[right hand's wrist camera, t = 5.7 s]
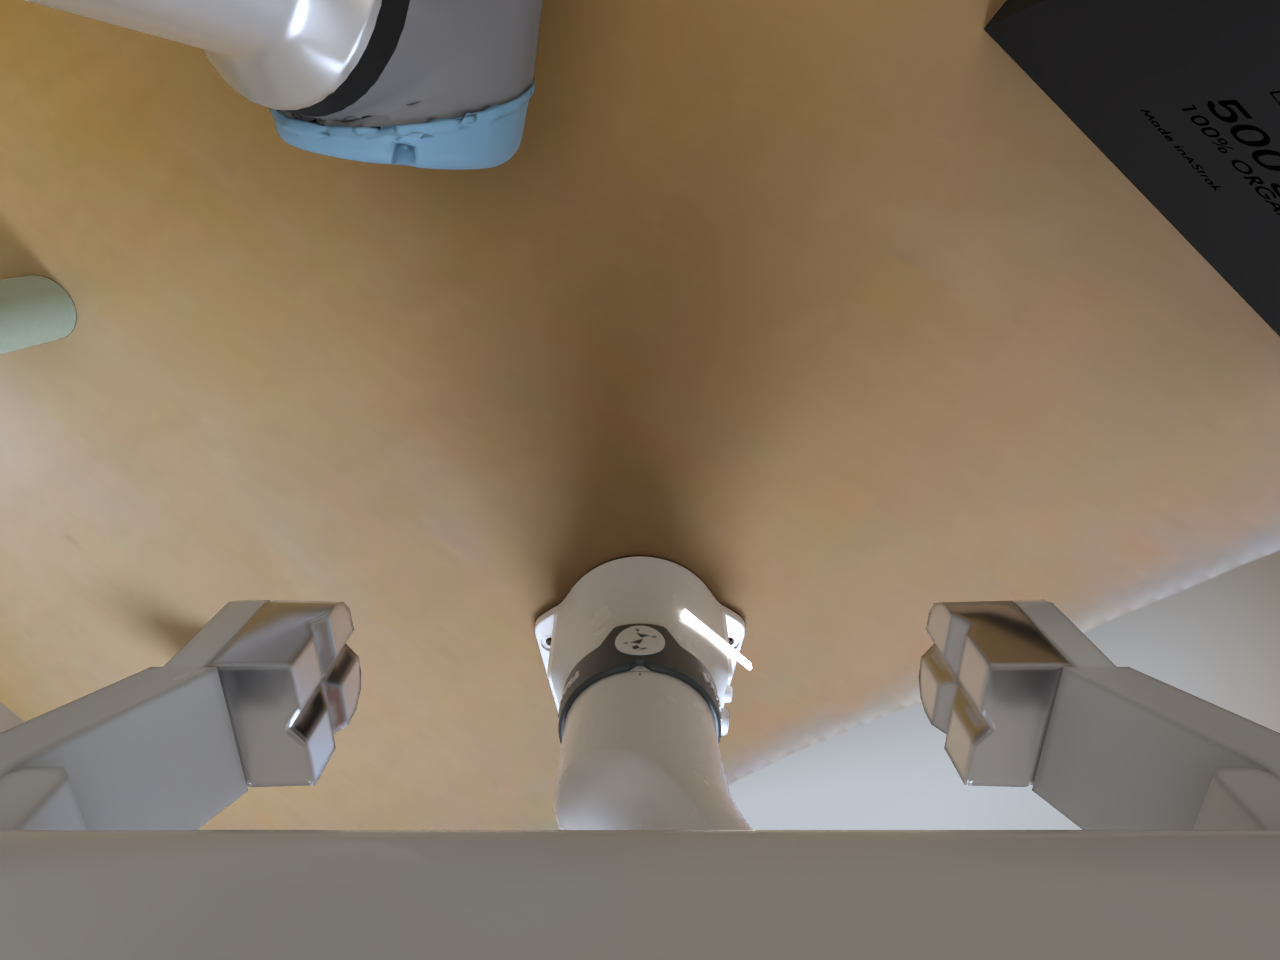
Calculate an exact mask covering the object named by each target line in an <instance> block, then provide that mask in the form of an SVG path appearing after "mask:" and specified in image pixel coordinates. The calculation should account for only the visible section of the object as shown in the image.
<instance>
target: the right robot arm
mask: <svg viewBox="0 0 1280 960" xmlns="http://www.w3.org/2000/svg"><path fill="white" fill-rule="evenodd" d="M353 630H354V627H353V622H352V618H351V613H350V609H349V608H348V606H347V605H346V604H345V603H344V602H327V601H275V600H274V601H270V600H238V601H233V602H228V603H227V604H226V605H225V606H224V607H223V608H222V609H221V610H220V611H219V612H218V613H217V614H216V615H215V616H214V617H213V618H212V619H211V620H210V621H209V622H208V623H207V624H206V625H205V626H204V627H203V628H202V629H201V630H200V631H199V632H198V633H197V634H196V635H195V636H194V637H193V638H192V639H191V640H190V641H189V642H188V643H187V644H186V645H185V646H184V647H183V648H182V649H181V650H180V651H179V652H178V653H177V654H176V655H175V656H174V657H173V658H172V659H171V660H170V661H169V662H168V663H167V664H166V665H165V666H164V667H150V668H148V669H146V670H143V671H141V672H139V673H136V674H134V675H132V676H130V677H127V678H125V679H123V680H120V681H118V682H116V683H114V684H111V685H109V686H107V687H104V688H102V689H100V690H98V691H95V692H93V693H91V694H88V695H86V696H84V697H82V698H79V699H77V700H75V701H72V702H70V703H68V704H66V705H63V706H61V707H59V708H56V709H54V710H52V711H50V712H47V713H45V714H43V715H41V716H38V717H36V718H34V719H31V720H29V721H27V722H25V723H22V724H20V725H18V726H15V727H13V728H11V729H9V730H6V731H4V732H2V733H0V960H1280V733H1278V732H1276V731H1273V730H1271V729H1269V728H1267V727H1264V726H1262V725H1260V724H1257V723H1255V722H1253V721H1250V720H1248V719H1246V718H1244V717H1241V716H1239V715H1237V714H1235V713H1232V712H1230V711H1228V710H1225V709H1223V708H1221V707H1219V706H1216V705H1214V704H1212V703H1210V702H1207V701H1205V700H1203V699H1200V698H1198V697H1196V696H1194V695H1191V694H1189V693H1187V692H1185V691H1182V690H1180V689H1178V688H1175V687H1173V686H1171V685H1169V684H1166V683H1164V682H1162V681H1159V680H1157V679H1155V678H1153V677H1150V676H1148V675H1146V674H1144V673H1141V672H1139V671H1137V670H1134V669H1132V668H1130V667H1116V666H1115V665H1114V664H1113V663H1112V662H1111V661H1110V660H1109V659H1108V658H1107V657H1106V656H1105V655H1104V654H1103V653H1102V652H1101V651H1100V650H1099V649H1098V648H1097V647H1096V646H1095V645H1094V644H1093V643H1092V642H1091V641H1090V640H1089V639H1088V638H1087V637H1086V636H1085V635H1084V634H1083V633H1082V632H1081V631H1080V630H1079V629H1078V628H1077V627H1076V626H1075V625H1074V624H1073V623H1072V622H1071V621H1070V620H1069V619H1068V618H1067V617H1066V616H1065V615H1064V614H1063V613H1062V612H1061V611H1060V610H1059V609H1058V608H1057V607H1056V606H1055V605H1054V604H1053V603H1051V602H1048V601H1045V600H1021V601H984V602H943V603H934V604H933V606H932V608H931V610H930V612H929V616H928V621H927V627H926V630H927V632H928V633H929V635H930V636H931V638H932V640H933V641H934V644H933V645H932V646H931V647H930V649H929V650H928V651H927V652H926V653H925V654H924V655H923V656H922V657H921V664H920V672H919V686H920V697H921V700H922V704H923V707H924V710H925V713H926V715H927V717H928V719H929V720H930V722H931V724H932V725H933V726H935V727H936V728H938V729H939V730H941V731H942V732H944V733H945V734H947V737H946V742H945V750H946V752H947V754H948V755H949V757H950V759H951V761H952V763H953V764H954V766H955V768H956V770H957V772H958V773H959V775H960V777H961V779H962V781H963V782H964V784H965V785H972V786H1009V787H1033V788H1032V790H1033V791H1034V792H1035V793H1036V794H1038V795H1039V796H1040V797H1042V798H1043V799H1044V800H1045V801H1047V802H1048V803H1049V804H1050V805H1052V806H1053V807H1054V808H1056V809H1057V810H1058V811H1059V812H1061V813H1062V814H1063V815H1065V816H1066V817H1067V818H1068V819H1070V820H1071V821H1072V822H1074V823H1075V824H1076V825H1077V826H1079V827H1080V828H1081V829H1083V830H754V829H753V828H752V827H751V826H750V824H749V823H748V822H747V821H746V819H745V818H744V817H743V815H742V814H741V812H740V811H739V809H738V808H737V806H736V804H735V802H734V801H733V799H732V796H731V794H730V791H729V788H728V784H727V780H726V777H725V773H724V769H723V764H722V760H721V755H720V750H719V742H720V737H721V735H722V736H724V735H726V734H727V732H728V727H729V710H728V709H726V708H723V707H724V704H725V703H730V702H731V700H732V693H733V690H732V687H731V686H730V684H731V680H732V677H733V673H734V670H735V666H736V663H737V661H739V662H740V663H741V664H742V665H743V666H745V667H746V668H747V669H748V670H751V669H752V666H751V662H750V661H748V660H747V659H746V658H745V657H743V656H742V655H741V654H740V649H741V646H742V643H743V639H744V636H745V622H744V620H743V619H742V618H741V617H740V616H739V615H738V614H736V613H735V612H733V611H732V610H730V609H728V608H726V607H725V606H723V605H721V604H720V603H719V602H718V601H717V600H716V599H715V597H714V596H713V595H712V593H711V592H710V590H709V589H708V588H707V586H706V585H705V584H704V583H703V582H702V581H701V580H700V579H699V578H698V577H697V576H696V575H694V574H693V573H692V572H690V571H689V570H687V569H686V568H684V567H682V566H680V565H678V564H676V563H673V562H670V561H667V560H664V559H660V558H654V557H644V556H636V557H626V558H620V559H616V560H613V561H610V562H607V563H604V564H602V565H600V566H598V567H596V568H594V569H593V570H591V571H590V572H588V573H587V574H586V575H584V576H583V577H582V578H581V579H580V580H579V581H578V582H577V583H576V584H575V585H574V586H573V588H572V589H571V590H570V592H569V593H568V595H567V596H566V597H565V599H564V600H563V601H562V602H561V603H560V604H559V605H557V606H555V607H554V608H552V609H550V610H548V611H547V612H545V613H544V614H542V615H541V616H540V617H539V618H538V619H537V620H536V622H535V636H536V639H537V643H538V646H539V649H540V653H541V656H542V660H543V663H544V666H545V670H546V673H547V677H548V680H549V683H550V687H551V690H552V694H553V697H554V700H555V704H556V707H557V711H558V719H559V737H560V742H561V752H560V759H559V767H558V774H557V781H556V788H555V796H554V810H555V817H556V821H557V824H558V828H559V830H198V829H199V828H200V827H202V826H203V825H204V824H205V823H207V822H208V821H209V820H211V819H212V818H213V817H214V816H216V815H217V814H218V813H220V812H221V811H222V810H223V809H225V808H226V807H227V806H229V805H230V804H231V803H232V802H234V801H235V800H236V799H238V798H239V797H240V796H241V795H243V794H244V793H245V792H247V791H248V788H247V787H270V786H306V785H315V784H316V783H317V781H318V779H319V777H320V775H321V774H322V772H323V770H324V768H325V766H326V764H327V763H328V761H329V759H330V757H331V755H332V754H333V752H334V750H335V742H334V737H333V734H335V733H336V732H338V731H339V730H341V729H342V728H344V727H345V726H347V725H348V724H349V722H350V720H351V718H352V716H353V715H354V713H355V711H356V708H357V703H358V699H359V694H360V690H361V669H360V663H359V657H358V656H357V655H356V654H355V653H354V652H353V651H352V650H351V649H350V647H349V646H348V645H347V644H346V641H347V640H348V638H349V636H350V635H351V633H352V632H353ZM548 638H551V641H549V640H548ZM729 638H732V640H731V641H729Z"/></svg>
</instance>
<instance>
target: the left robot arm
mask: <svg viewBox="0 0 1280 960" xmlns="http://www.w3.org/2000/svg"><path fill="white" fill-rule="evenodd" d="M24 1H28V2H32V3H35V4H39V5H43V6H46V7H50V8H54V9H57V10H61V11H65V12H68V13H72V14H76V15H79V16H83V17H87V18H91V19H94V20H98V21H102V22H105V23H109V24H113V25H116V26H120V27H124V28H127V29H131V30H135V31H138V32H142V33H146V34H149V35H153V36H157V37H161V38H164V39H168V40H172V41H175V42H179V43H183V44H186V45H190V46H194V47H197V48H201V49H203V51H204V53H205V54H206V56H207V58H208V60H209V61H210V62H211V64H212V65H213V67H214V68H215V70H216V71H217V72H218V74H219V75H220V76H221V77H222V78H223V79H224V80H225V81H226V83H227V84H228V85H229V86H231V87H232V88H233V89H234V90H235V91H237V92H238V93H239V94H241V95H242V96H244V97H245V98H247V99H248V100H250V101H251V102H254V103H256V104H259V105H262V106H264V107H268V108H270V112H271V114H272V116H273V118H274V120H275V126H276V130H277V132H278V134H279V136H280V137H281V138H282V140H284V141H285V142H286V143H288V144H290V145H292V146H294V147H297V148H299V149H302V150H305V151H309V152H313V153H317V154H322V155H327V156H331V157H336V158H342V159H348V160H354V161H361V162H368V163H375V164H394V165H407V166H413V167H416V168H428V169H447V170H472V169H485V168H491V167H496V166H499V165H501V164H503V163H505V162H506V161H508V160H509V159H510V158H511V157H512V156H513V155H514V154H515V153H516V152H517V150H518V148H519V146H520V144H521V140H522V136H523V130H524V125H525V119H526V114H527V109H528V103H529V100H530V98H531V97H532V95H533V92H534V90H535V87H534V83H535V81H536V80H535V79H534V69H535V61H536V53H537V45H538V37H539V29H540V21H541V13H542V4H543V0H24Z"/></svg>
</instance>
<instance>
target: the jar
mask: <svg viewBox="0 0 1280 960" xmlns="http://www.w3.org/2000/svg"><path fill="white" fill-rule="evenodd" d="M75 323H76V310H75V306H74V304H73V301H72V299H71V298H70V296H69V295H68V293H67V292H66V291H65V290H64V289H63V288H62V287H61V286H60V285H59V284H57V283H56V282H54V281H52V280H50V279H48V278H46V277H42V276H37V275H29V276H22V277H15V278H8V279H1V280H0V355H1V354H4V353H8V352H12V351H16V350H20V349H24V348H28V347H31V346H35V345H39V344H43V343H47V342H51V341H55V340H58V339H62V338H64V337H66V336H67V335H69V334H70V333H71V331H72V330H73V328H74V326H75Z"/></svg>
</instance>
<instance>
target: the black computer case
mask: <svg viewBox="0 0 1280 960" xmlns="http://www.w3.org/2000/svg"><path fill="white" fill-rule="evenodd" d="M984 29H985V30H986V31H987V32H988V33H989V35H990V36H991V37H992V38H993V39H994V40H995V41H996V42H997V43H998V44H999V45H1000V46H1001V47H1002V48H1003V49H1004V50H1005V51H1006V52H1007V53H1008V54H1009V55H1010V56H1011V57H1012V58H1013V59H1014V60H1015V62H1016V63H1017V64H1018V65H1019V66H1020V67H1021V68H1022V69H1023V70H1024V71H1025V72H1026V73H1027V74H1028V75H1029V76H1030V77H1031V78H1032V79H1033V80H1034V81H1035V82H1036V83H1037V84H1038V85H1039V86H1040V88H1041V89H1042V90H1043V91H1044V92H1045V93H1046V94H1047V95H1048V96H1049V97H1050V98H1051V99H1052V100H1053V101H1054V102H1055V103H1056V104H1057V105H1058V106H1059V107H1060V108H1061V109H1062V110H1063V111H1064V112H1065V114H1066V115H1067V116H1068V117H1069V118H1070V119H1071V120H1072V121H1073V122H1074V123H1075V124H1076V125H1077V126H1078V127H1079V128H1080V129H1081V130H1082V131H1083V132H1084V133H1085V134H1086V135H1087V136H1088V137H1089V138H1090V139H1091V141H1092V142H1093V143H1094V144H1095V145H1096V146H1097V147H1098V148H1099V149H1100V150H1101V151H1102V152H1103V153H1104V154H1105V155H1106V156H1107V157H1108V158H1109V159H1110V160H1111V161H1112V162H1113V163H1114V164H1115V165H1116V167H1117V168H1118V169H1119V170H1120V171H1121V172H1122V173H1123V174H1124V175H1125V176H1126V177H1127V178H1128V179H1129V180H1130V181H1131V182H1132V183H1133V184H1134V185H1135V186H1136V187H1137V188H1138V189H1139V190H1140V191H1141V192H1142V194H1143V195H1144V196H1145V197H1146V198H1147V199H1148V200H1149V201H1150V202H1151V203H1152V204H1153V205H1154V206H1155V207H1156V208H1157V209H1158V210H1159V211H1160V212H1161V213H1162V214H1163V215H1164V216H1165V217H1166V218H1167V220H1168V221H1169V222H1170V223H1171V224H1172V225H1173V226H1174V227H1175V228H1176V229H1177V230H1178V231H1179V232H1180V233H1181V234H1182V235H1183V236H1184V237H1185V238H1186V239H1187V240H1188V241H1189V242H1190V243H1191V244H1192V245H1193V247H1194V248H1195V249H1196V250H1197V251H1198V252H1199V253H1200V254H1201V255H1202V256H1203V257H1204V258H1205V259H1206V260H1207V261H1208V262H1209V263H1210V264H1211V265H1212V266H1213V267H1214V268H1215V269H1216V270H1217V271H1218V273H1219V274H1220V275H1221V276H1222V277H1223V278H1224V279H1225V280H1226V281H1227V282H1228V283H1229V284H1230V285H1231V286H1232V287H1233V288H1234V289H1235V290H1236V291H1237V292H1238V293H1239V294H1240V295H1241V296H1242V297H1243V298H1244V300H1245V301H1246V302H1247V303H1248V304H1249V305H1250V306H1251V307H1252V308H1253V309H1254V310H1255V311H1256V312H1257V313H1258V314H1259V315H1260V316H1261V317H1262V318H1263V319H1264V320H1265V321H1266V322H1267V323H1268V324H1269V326H1270V327H1271V328H1272V329H1273V330H1274V331H1275V332H1276V333H1277V334H1278V335H1279V336H1280V171H1277V170H1278V169H1279V168H1280V167H1279V168H1276V165H1278V166H1279V165H1280V0H1007V1H1006V2H1005V4H1004V5H1003V6H1002V7H1001V8H1000V10H999V11H998V12H997V13H996V15H995V16H994V17H993V18H992V19H991V21H990V22H989V23H988V24H987V25H986V27H985V28H984ZM1275 91H1278V92H1277V93H1275V94H1273V96H1274V97H1273V96H1272V95H1271V93H1273V92H1275ZM1270 92H1271V93H1270ZM1276 99H1277V100H1278V101H1276ZM1228 103H1229V104H1231V105H1227V104H1228ZM1230 108H1231V109H1233V110H1232V113H1230ZM1234 112H1236V115H1235V116H1234V117H1233V118H1232V119H1231V120H1230V121H1229V122H1227V119H1228V118H1229V117H1230V116H1231V115H1232V114H1233V113H1234ZM1222 116H1223V117H1222ZM1236 116H1238V118H1237V119H1236V120H1235V122H1234V123H1230V122H1231V121H1232V120H1233V119H1234V118H1235V117H1236ZM1241 124H1242V125H1241ZM1238 125H1241V126H1240V127H1239V128H1238V129H1237V130H1236V131H1235V130H1234V129H1235V128H1236V127H1237V126H1238ZM1246 126H1248V129H1247V130H1242V131H1239V132H1237V131H1238V130H1240V129H1242V128H1244V127H1246ZM1259 128H1260V129H1262V130H1263V131H1264V132H1261V131H1260V130H1259ZM1213 129H1215V130H1213ZM1216 131H1218V132H1217V133H1216ZM1236 132H1237V133H1236ZM1207 134H1208V135H1207ZM1218 134H1219V135H1220V136H1219V137H1216V136H1217V135H1218ZM1212 135H1214V137H1213V138H1212V137H1211V136H1212ZM1220 138H1222V140H1221V141H1220V143H1219V142H1218V141H1219V140H1220ZM1224 140H1225V141H1226V144H1227V145H1226V144H1225V145H1223V143H1224V142H1225V141H1224ZM1259 140H1262V141H1263V142H1264V144H1263V145H1262V146H1261V147H1253V146H1255V145H1256V142H1257V141H1259ZM1245 141H1248V142H1249V143H1250V142H1252V141H1255V142H1254V143H1253V144H1251V145H1247V144H1246V143H1245ZM1215 143H1217V144H1215ZM1260 144H1261V142H1260V143H1258V145H1260ZM1221 145H1223V146H1221ZM1225 146H1227V147H1228V148H1226V147H1225ZM1220 147H1222V148H1220ZM1223 148H1225V149H1226V150H1225V149H1223ZM1233 149H1234V150H1233ZM1261 149H1263V150H1262V151H1261V153H1260V156H1259V157H1258V152H1259V150H1261ZM1256 150H1257V151H1256ZM1268 150H1270V151H1271V152H1270V155H1267V154H1268ZM1226 151H1228V152H1227V153H1226ZM1254 151H1256V152H1254ZM1235 160H1238V162H1237V163H1235ZM1240 161H1243V162H1245V164H1246V165H1245V164H1243V163H1240ZM1267 165H1269V166H1272V167H1271V168H1267ZM1247 166H1248V167H1247ZM1273 166H1275V167H1274V169H1273V170H1272V168H1273ZM1242 171H1244V173H1242ZM1251 173H1252V174H1251ZM1254 176H1256V178H1255V179H1254V180H1253V181H1251V179H1252V177H1254ZM1247 177H1250V179H1247ZM1258 177H1260V180H1261V181H1262V182H1261V184H1259V182H1260V181H1259V179H1257V178H1258ZM1255 180H1256V181H1257V182H1256V183H1255V182H1254V181H1255ZM1253 182H1254V183H1253ZM1252 183H1253V184H1252ZM1257 186H1258V187H1257ZM1260 186H1263V187H1262V188H1261V189H1259V191H1258V188H1259V187H1260ZM1265 187H1266V188H1267V189H1265ZM1272 188H1273V189H1272ZM1268 190H1271V191H1272V192H1269V191H1268ZM1276 193H1277V194H1276ZM1265 194H1266V195H1265ZM1273 194H1275V195H1276V196H1275V198H1274V197H1273ZM1267 196H1269V197H1270V198H1268V199H1266V198H1267ZM1269 201H1270V202H1271V203H1269Z"/></svg>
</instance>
